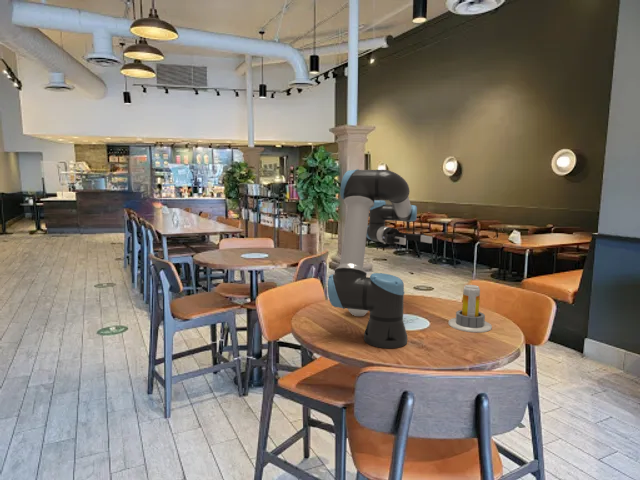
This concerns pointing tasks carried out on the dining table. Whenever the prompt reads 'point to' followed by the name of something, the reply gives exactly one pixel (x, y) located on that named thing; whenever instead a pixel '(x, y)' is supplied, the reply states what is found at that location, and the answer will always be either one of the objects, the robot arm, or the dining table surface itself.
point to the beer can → (471, 301)
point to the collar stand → (470, 323)
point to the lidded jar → (357, 312)
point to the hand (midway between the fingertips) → (418, 240)
